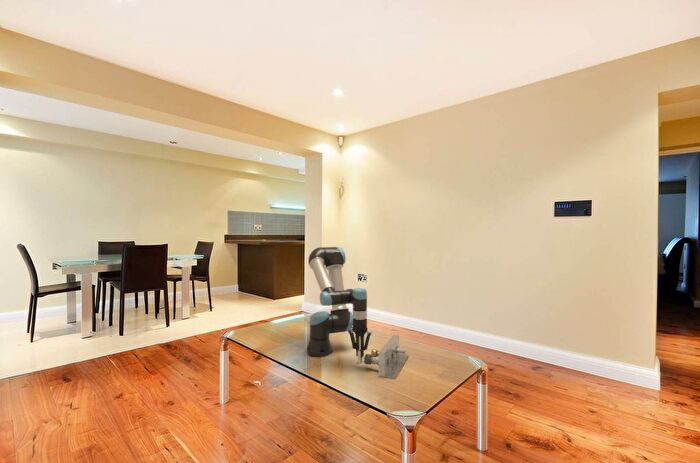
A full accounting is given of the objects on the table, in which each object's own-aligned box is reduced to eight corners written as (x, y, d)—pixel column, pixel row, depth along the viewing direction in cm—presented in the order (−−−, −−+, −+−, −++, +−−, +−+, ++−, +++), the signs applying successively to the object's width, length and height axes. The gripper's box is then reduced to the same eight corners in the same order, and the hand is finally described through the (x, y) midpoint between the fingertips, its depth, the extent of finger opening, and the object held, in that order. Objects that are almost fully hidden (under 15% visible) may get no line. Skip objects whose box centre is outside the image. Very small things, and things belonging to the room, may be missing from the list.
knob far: (385, 354, 178) (385, 345, 178) (387, 351, 183) (387, 343, 183) (404, 357, 174) (404, 348, 174) (406, 354, 178) (406, 345, 178)
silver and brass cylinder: (370, 357, 172) (370, 350, 172) (372, 355, 176) (372, 348, 176) (389, 360, 168) (389, 353, 168) (391, 358, 172) (391, 350, 172)
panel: (378, 376, 157) (378, 352, 157) (394, 354, 185) (394, 334, 185) (395, 379, 154) (395, 354, 154) (408, 356, 181) (408, 336, 181)
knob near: (364, 365, 164) (364, 355, 164) (367, 361, 168) (367, 352, 168) (384, 368, 159) (384, 359, 159) (387, 365, 164) (387, 355, 164)
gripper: (345, 318, 166) (345, 363, 166) (369, 321, 161) (369, 367, 161) (351, 315, 173) (351, 358, 173) (373, 317, 168) (374, 361, 168)
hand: (360, 362), depth 167 cm, fingers closed
